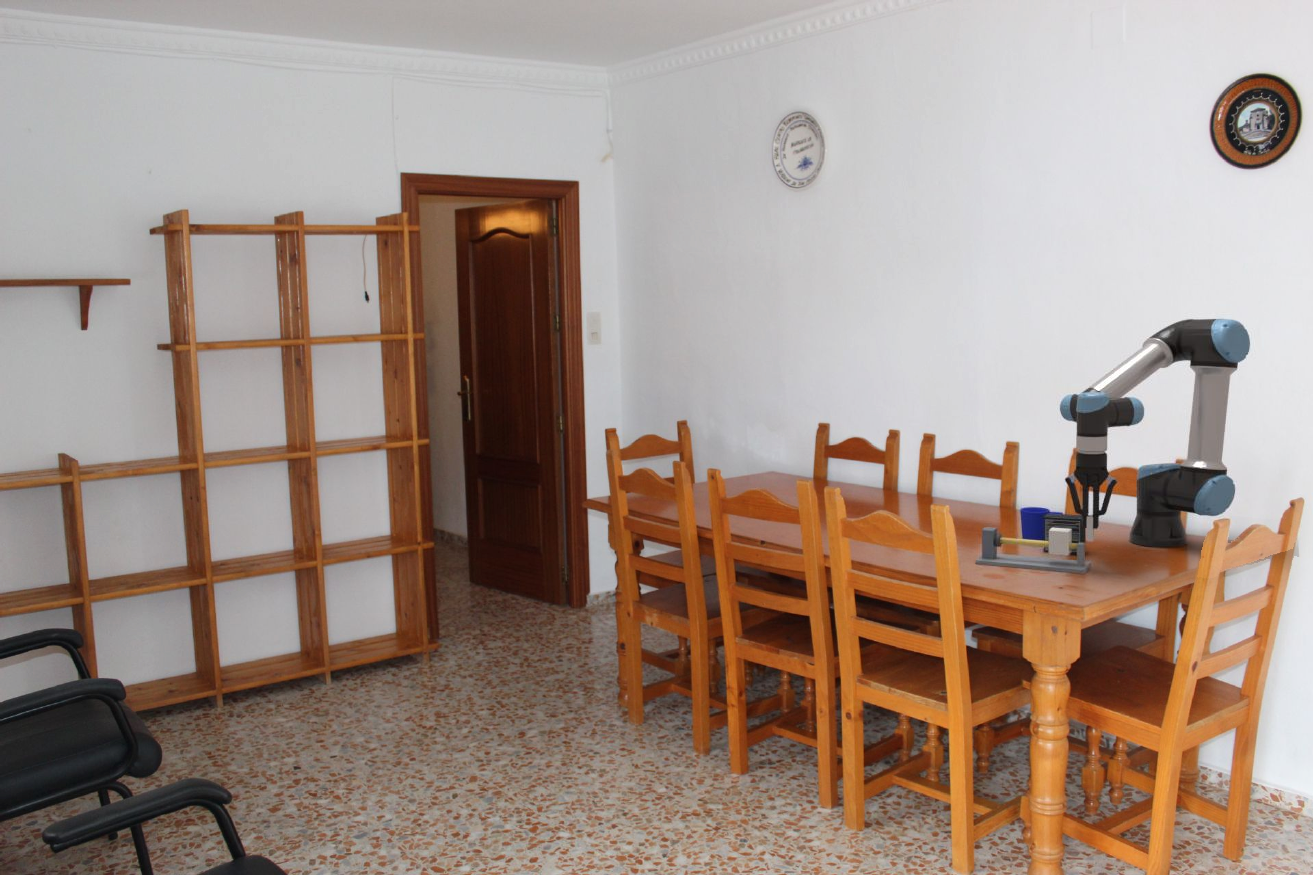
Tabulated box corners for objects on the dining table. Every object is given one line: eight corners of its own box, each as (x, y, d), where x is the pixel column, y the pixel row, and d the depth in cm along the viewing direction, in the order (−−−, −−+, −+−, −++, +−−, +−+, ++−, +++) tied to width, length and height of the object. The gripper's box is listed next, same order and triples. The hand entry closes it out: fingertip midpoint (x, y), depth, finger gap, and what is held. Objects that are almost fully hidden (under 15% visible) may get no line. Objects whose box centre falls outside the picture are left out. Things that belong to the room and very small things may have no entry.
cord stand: (1090, 565, 283) (1091, 532, 282) (1084, 573, 274) (1085, 539, 273) (984, 556, 297) (984, 524, 296) (975, 563, 289) (975, 531, 288)
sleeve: (1071, 552, 282) (1071, 528, 282) (1068, 555, 279) (1068, 531, 278) (1051, 550, 285) (1052, 527, 284) (1048, 553, 281) (1048, 530, 280)
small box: (1086, 550, 299) (1086, 514, 298) (1082, 555, 294) (1083, 518, 293) (1047, 547, 305) (1047, 512, 304) (1042, 552, 299) (1043, 516, 298)
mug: (1065, 546, 306) (1065, 512, 305) (1022, 545, 308) (1022, 512, 307) (1060, 540, 314) (1061, 507, 313) (1018, 539, 316) (1018, 506, 315)
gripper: (1120, 450, 275) (1118, 539, 277) (1067, 449, 281) (1066, 535, 284) (1116, 454, 268) (1115, 545, 271) (1062, 452, 275) (1061, 541, 277)
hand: (1090, 540), depth 277 cm, fingers closed
